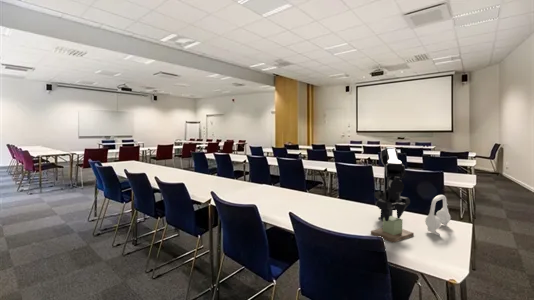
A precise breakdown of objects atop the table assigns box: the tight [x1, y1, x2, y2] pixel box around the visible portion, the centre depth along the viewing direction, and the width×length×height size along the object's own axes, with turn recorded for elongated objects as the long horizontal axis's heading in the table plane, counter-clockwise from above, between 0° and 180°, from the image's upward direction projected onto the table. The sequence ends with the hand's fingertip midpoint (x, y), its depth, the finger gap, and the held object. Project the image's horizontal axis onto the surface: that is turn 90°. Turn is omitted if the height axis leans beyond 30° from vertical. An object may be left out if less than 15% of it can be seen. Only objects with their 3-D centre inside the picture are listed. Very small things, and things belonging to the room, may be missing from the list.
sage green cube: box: [382, 215, 403, 235], centre depth 129 cm, size 6×6×7 cm
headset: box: [425, 194, 452, 236], centre depth 137 cm, size 20×7×18 cm, turn 129°
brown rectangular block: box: [370, 227, 415, 243], centre depth 130 cm, size 16×12×7 cm
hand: (392, 219), depth 129 cm, fingers open, 9 cm apart
